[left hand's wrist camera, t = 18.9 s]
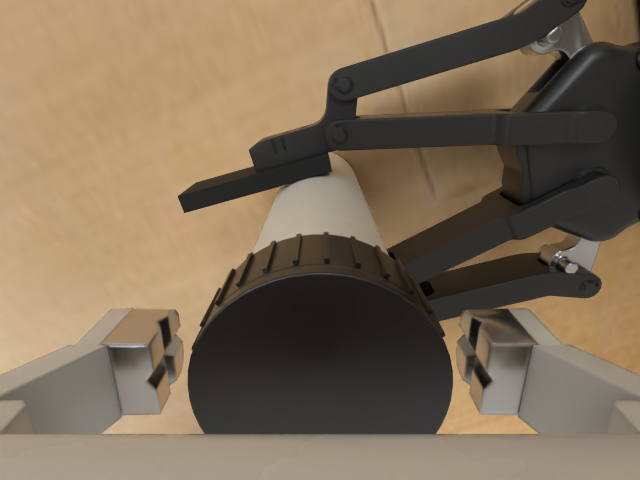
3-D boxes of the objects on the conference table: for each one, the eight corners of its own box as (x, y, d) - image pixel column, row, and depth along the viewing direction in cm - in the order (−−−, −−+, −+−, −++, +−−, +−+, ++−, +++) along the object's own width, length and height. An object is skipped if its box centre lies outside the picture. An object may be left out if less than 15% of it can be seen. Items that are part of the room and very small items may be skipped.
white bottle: (314, 134, 24) (301, 226, 8) (372, 182, 25) (470, 353, 9) (268, 194, 25) (173, 380, 9) (325, 237, 26) (334, 477, 10)
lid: (227, 424, 11) (207, 497, 9) (193, 237, 9) (158, 278, 7) (427, 414, 11) (450, 486, 9) (433, 223, 9) (464, 260, 7)
